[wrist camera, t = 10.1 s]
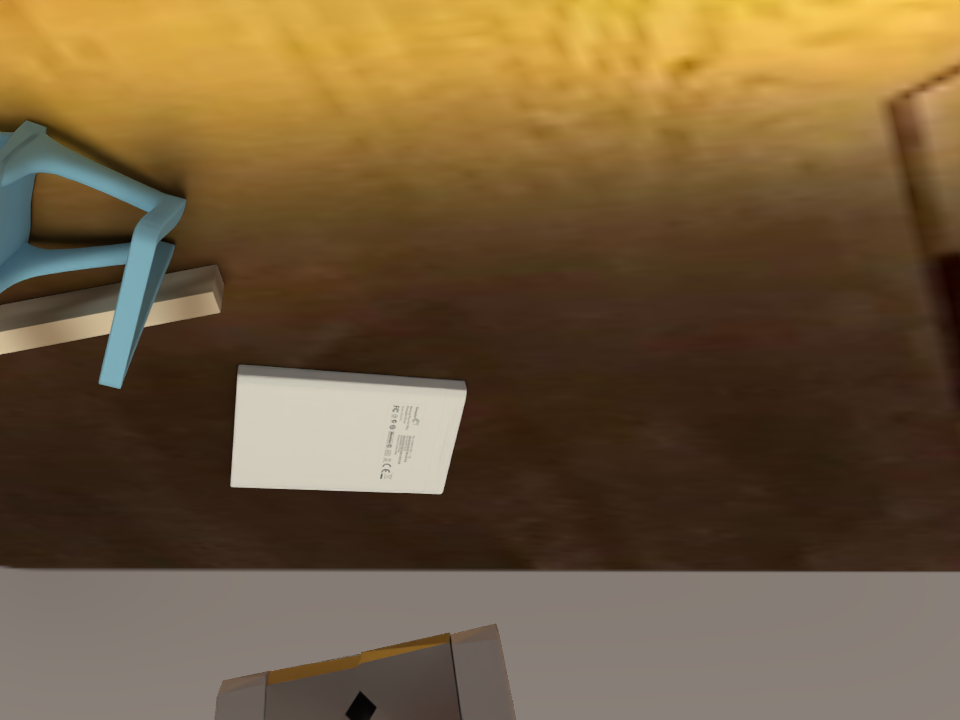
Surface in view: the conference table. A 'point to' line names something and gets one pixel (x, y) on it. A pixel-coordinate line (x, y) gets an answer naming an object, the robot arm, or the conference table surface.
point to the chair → (10, 258)
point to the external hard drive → (343, 430)
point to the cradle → (105, 310)
